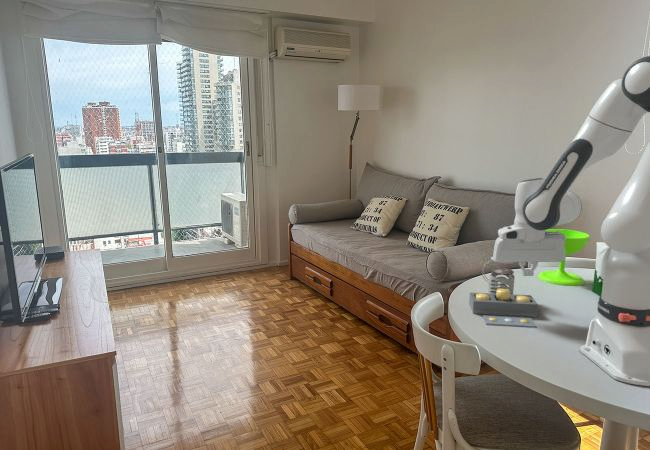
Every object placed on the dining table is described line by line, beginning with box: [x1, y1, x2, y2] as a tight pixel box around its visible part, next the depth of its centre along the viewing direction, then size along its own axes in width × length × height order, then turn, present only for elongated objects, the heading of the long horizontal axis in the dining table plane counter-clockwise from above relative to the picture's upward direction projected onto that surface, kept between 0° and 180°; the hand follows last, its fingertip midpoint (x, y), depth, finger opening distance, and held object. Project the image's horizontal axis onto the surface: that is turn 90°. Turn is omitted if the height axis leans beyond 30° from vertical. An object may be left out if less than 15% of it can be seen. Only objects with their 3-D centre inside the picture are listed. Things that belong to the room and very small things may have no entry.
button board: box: [468, 292, 539, 328], centre depth 140 cm, size 16×19×4 cm
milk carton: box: [591, 241, 611, 297], centre depth 155 cm, size 9×9×20 cm
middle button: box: [496, 289, 510, 301], centre depth 143 cm, size 4×4×3 cm
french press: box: [481, 226, 516, 295], centre depth 153 cm, size 10×12×25 cm
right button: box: [516, 296, 530, 302], centre depth 143 cm, size 4×4×3 cm
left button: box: [476, 294, 489, 300], centre depth 145 cm, size 4×4×3 cm
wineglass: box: [537, 228, 590, 287], centre depth 173 cm, size 16×16×18 cm
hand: (527, 275), depth 140 cm, fingers closed
